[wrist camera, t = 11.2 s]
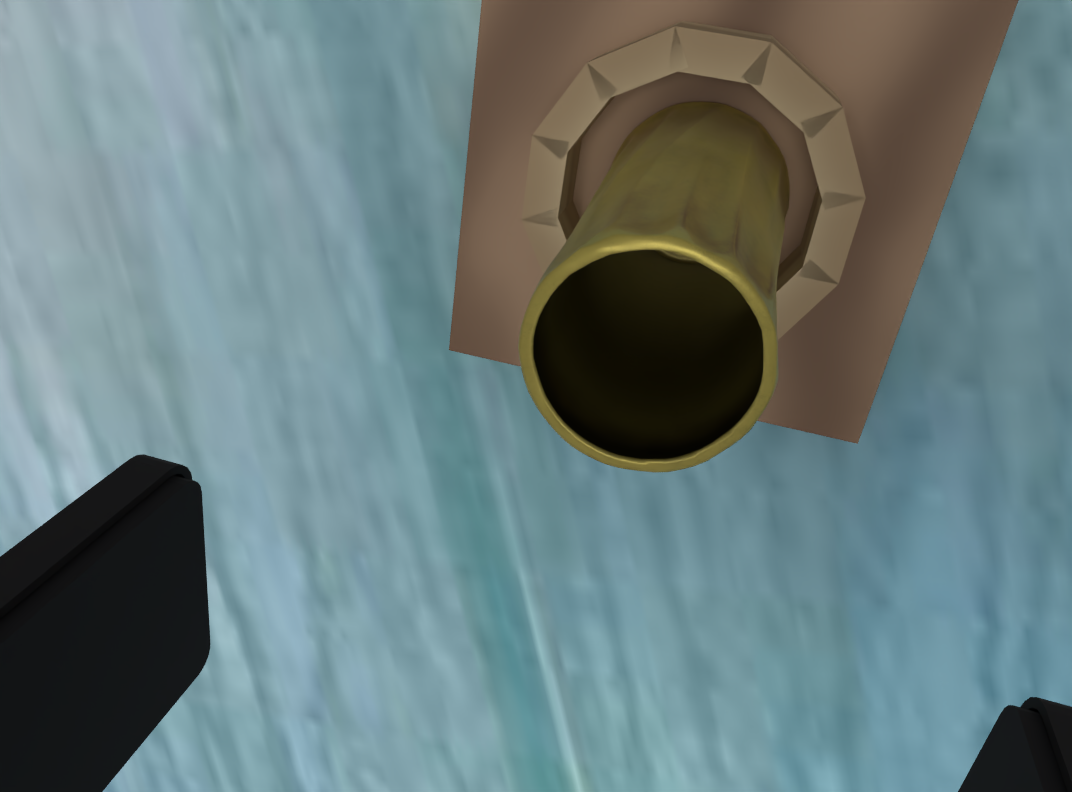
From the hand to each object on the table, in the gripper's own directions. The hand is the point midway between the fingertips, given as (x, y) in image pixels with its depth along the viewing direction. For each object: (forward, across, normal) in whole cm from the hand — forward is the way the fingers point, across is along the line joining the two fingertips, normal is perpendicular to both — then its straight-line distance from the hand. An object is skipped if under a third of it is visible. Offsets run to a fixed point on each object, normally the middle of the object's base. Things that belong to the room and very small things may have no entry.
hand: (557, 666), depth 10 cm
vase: (+23, 0, 0) cm, 23 cm away
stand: (+24, +1, 0) cm, 24 cm away
